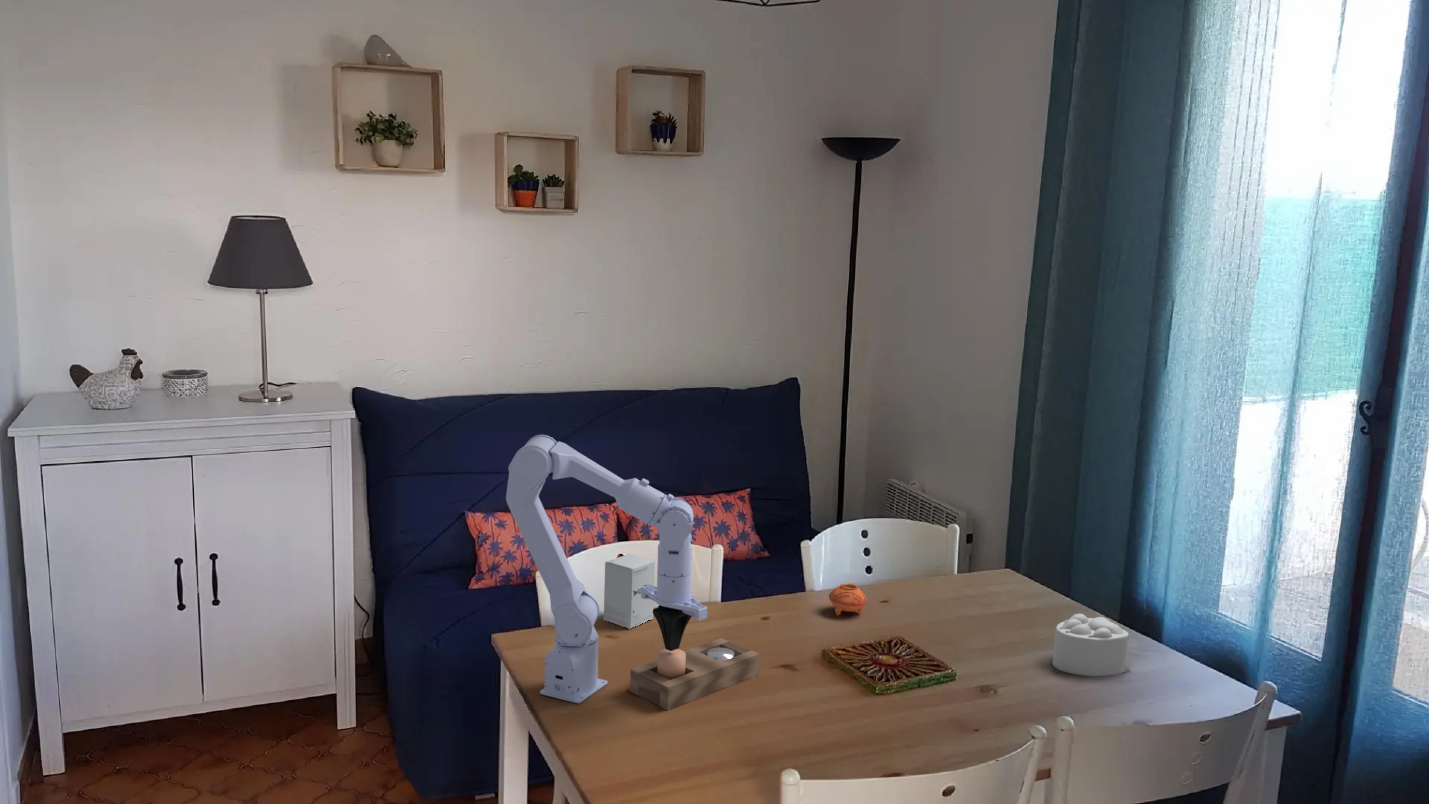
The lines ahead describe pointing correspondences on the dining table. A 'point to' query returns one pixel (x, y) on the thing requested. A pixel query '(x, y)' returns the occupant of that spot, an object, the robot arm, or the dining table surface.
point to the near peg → (671, 663)
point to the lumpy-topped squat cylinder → (1090, 646)
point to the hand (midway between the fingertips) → (672, 648)
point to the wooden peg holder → (695, 675)
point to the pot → (847, 598)
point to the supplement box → (628, 590)
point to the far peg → (720, 653)
